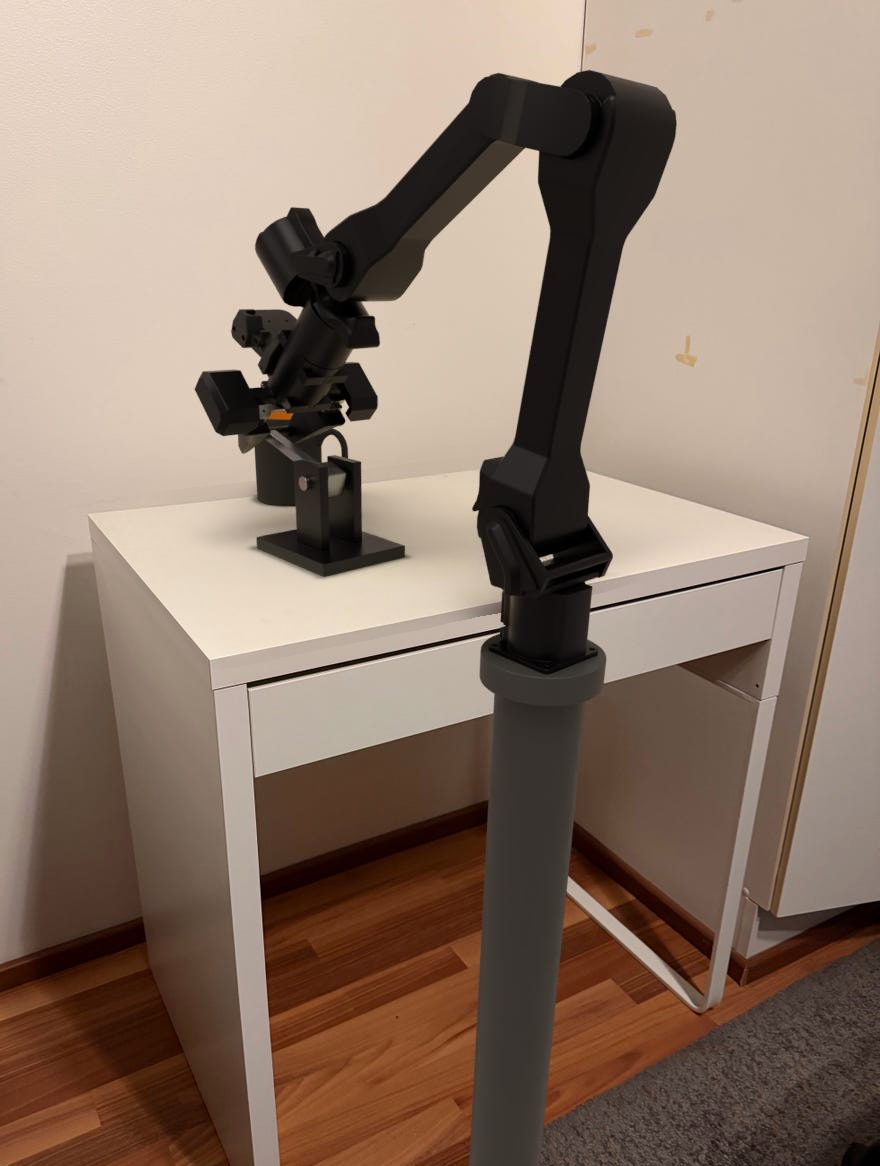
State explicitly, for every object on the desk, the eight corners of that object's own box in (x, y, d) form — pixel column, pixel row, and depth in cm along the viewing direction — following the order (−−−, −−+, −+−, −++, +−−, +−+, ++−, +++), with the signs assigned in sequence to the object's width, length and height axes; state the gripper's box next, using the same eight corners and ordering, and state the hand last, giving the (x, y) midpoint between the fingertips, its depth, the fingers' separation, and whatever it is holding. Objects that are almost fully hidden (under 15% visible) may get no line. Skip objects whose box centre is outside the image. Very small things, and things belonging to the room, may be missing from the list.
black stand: (256, 548, 90) (251, 457, 86) (335, 531, 96) (333, 446, 92) (323, 576, 81) (320, 478, 78) (405, 556, 87) (406, 464, 84)
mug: (337, 510, 105) (335, 422, 101) (246, 503, 108) (241, 417, 104) (359, 495, 112) (358, 413, 108) (273, 488, 115) (269, 408, 111)
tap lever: (244, 444, 91) (246, 422, 90) (284, 439, 94) (287, 418, 93) (313, 500, 84) (316, 477, 83) (354, 493, 87) (358, 471, 86)
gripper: (360, 279, 89) (304, 382, 101) (195, 278, 78) (153, 393, 90) (409, 366, 86) (345, 460, 98) (245, 377, 75) (196, 482, 87)
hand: (263, 447), depth 93 cm, fingers closed on tap lever, 5 cm apart
